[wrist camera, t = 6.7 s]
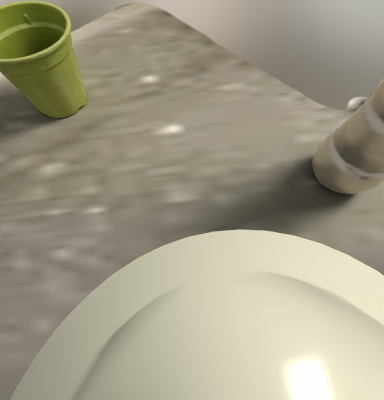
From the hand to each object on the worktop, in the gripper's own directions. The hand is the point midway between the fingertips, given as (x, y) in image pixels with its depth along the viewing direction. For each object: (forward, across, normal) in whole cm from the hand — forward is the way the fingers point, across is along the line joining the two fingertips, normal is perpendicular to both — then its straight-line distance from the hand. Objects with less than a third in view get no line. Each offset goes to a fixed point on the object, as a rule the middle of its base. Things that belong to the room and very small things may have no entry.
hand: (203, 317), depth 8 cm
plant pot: (+29, +12, -10) cm, 33 cm away
